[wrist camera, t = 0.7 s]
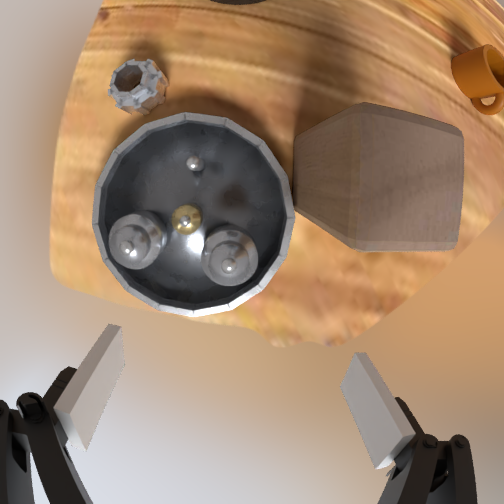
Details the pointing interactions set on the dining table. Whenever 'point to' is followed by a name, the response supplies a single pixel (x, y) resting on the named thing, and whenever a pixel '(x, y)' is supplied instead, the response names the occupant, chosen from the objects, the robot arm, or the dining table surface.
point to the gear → (145, 92)
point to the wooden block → (381, 179)
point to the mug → (481, 77)
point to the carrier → (193, 214)
